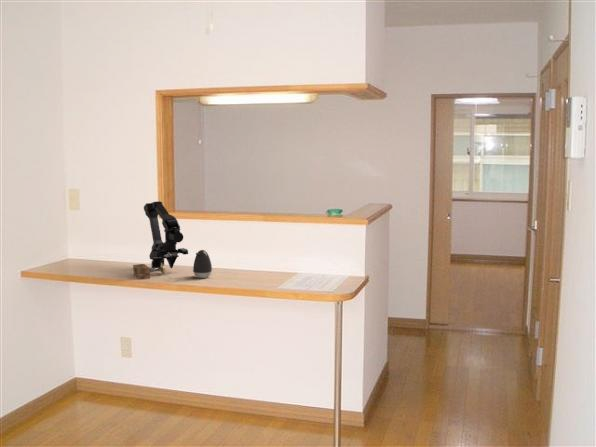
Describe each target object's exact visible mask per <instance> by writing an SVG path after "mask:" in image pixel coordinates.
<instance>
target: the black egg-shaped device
mask: <svg viewBox="0 0 596 447" xmlns="http://www.w3.org/2000/svg"><path fill="white" fill-rule="evenodd" d="M195 255H196V256H195V258H194V261H193V268H192V272H193V274H194V276H195V278H198V279H207V278H209V277H210V276H211V274H212V271H213V267H212V261H211V258H210V255H209V253H208V251H206V250H204V249H200V250H198V251H197V252H195Z"/></svg>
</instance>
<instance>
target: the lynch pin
mask: <svg viewBox="0 0 596 447" xmlns="http://www.w3.org/2000/svg"><path fill="white" fill-rule="evenodd" d="M165 270H166V268H165V263H164V264H163V263H161V266H160V267H154V268H152V267H150V273H153V272H160V273H161V274H165V272H166V271H165Z"/></svg>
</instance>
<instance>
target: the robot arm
mask: <svg viewBox="0 0 596 447" xmlns="http://www.w3.org/2000/svg"><path fill="white" fill-rule="evenodd" d="M143 212H144V213H145V216H146V217H147V218H148V220H149V225H150V230H151V236H152V237H151V238H152V246H151V251H150V254H149V260H151V263H150V264H151V265H150V266H151V268H154V267H160V266H161V263H163V264H164V265H165V259H166V262H167V263H168V265H169V268H170V269H173V267H174V265H175V262H176V260H177V258H178V257H180V255H179V254H182V255H189V250H188V249H187V248H184V247H182V248H181V247H180V248H177V244H178V243H181V242H182V241H183V240H184V235H183V233H182V232H181V226H180V224H179V221H178V220H177V218H176V217H175V216H174V215H172V214H170V212H168V210H167V208H166V207H165V206H164V204H163V201H160V200H159V201H153V202H152V201H151V202H150V203H145V204H144V206H143ZM158 217H160V218H161V220H162V221H161V224H162V226H163V228H164V230H163V232H164V236H165V237H164V239H165V241H163V240H162V233H161V229H160V224H159V223H160V222H159V218H158Z"/></svg>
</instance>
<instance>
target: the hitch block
mask: <svg viewBox="0 0 596 447" xmlns="http://www.w3.org/2000/svg"><path fill="white" fill-rule="evenodd" d="M150 268H151V267H149V266H148V265H147V264H145V263H140V264H133V265H132V269H133V277H135V278H136V279H138V280H147V279H149V280H150V279H151V276H150V275H151V274H150V273H151V272H150Z"/></svg>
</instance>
